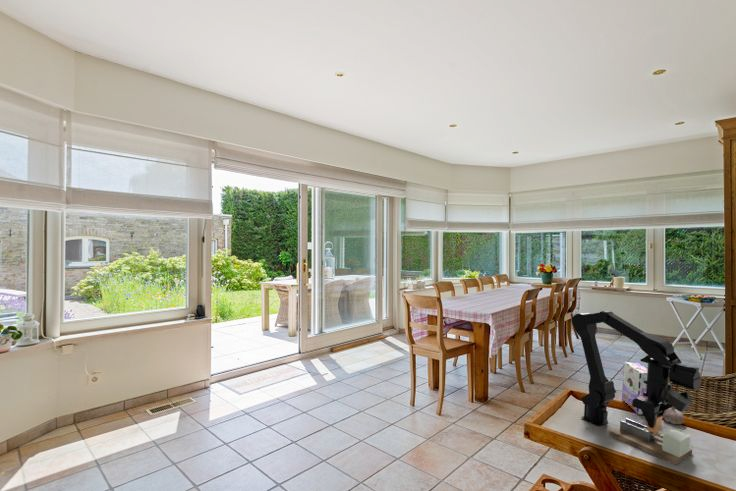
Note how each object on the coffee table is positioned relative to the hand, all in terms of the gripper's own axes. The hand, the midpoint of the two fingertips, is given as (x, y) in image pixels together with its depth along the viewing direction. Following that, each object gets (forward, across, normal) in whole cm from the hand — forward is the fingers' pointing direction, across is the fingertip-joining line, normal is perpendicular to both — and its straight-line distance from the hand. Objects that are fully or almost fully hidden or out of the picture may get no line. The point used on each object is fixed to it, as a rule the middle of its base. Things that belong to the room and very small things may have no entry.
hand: (654, 426), depth 126 cm
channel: (+5, 0, +5) cm, 7 cm away
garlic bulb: (+7, +27, +5) cm, 28 cm away
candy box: (+7, +27, +17) cm, 32 cm away
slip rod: (+4, 0, -2) cm, 5 cm away
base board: (+6, 0, +1) cm, 7 cm away
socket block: (+5, 0, -6) cm, 8 cm away
